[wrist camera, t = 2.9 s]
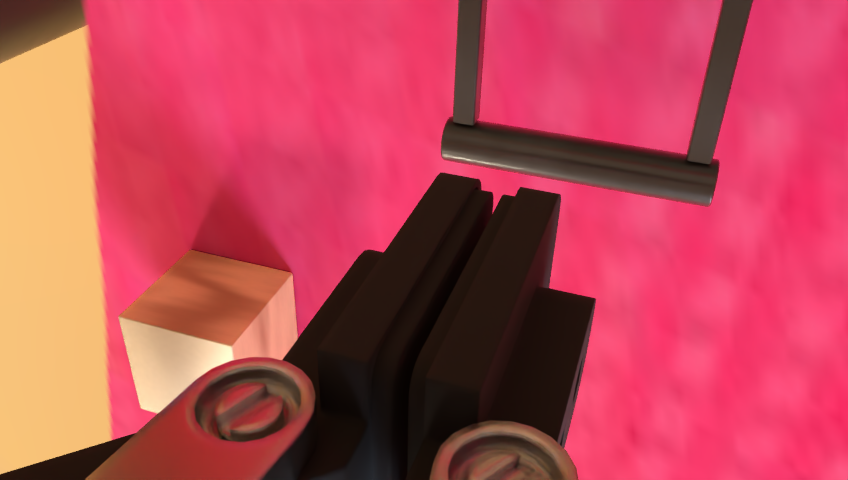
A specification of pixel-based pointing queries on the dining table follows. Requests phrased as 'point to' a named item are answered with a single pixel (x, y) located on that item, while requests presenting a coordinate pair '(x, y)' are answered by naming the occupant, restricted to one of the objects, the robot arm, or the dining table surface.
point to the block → (205, 323)
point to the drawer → (588, 157)
